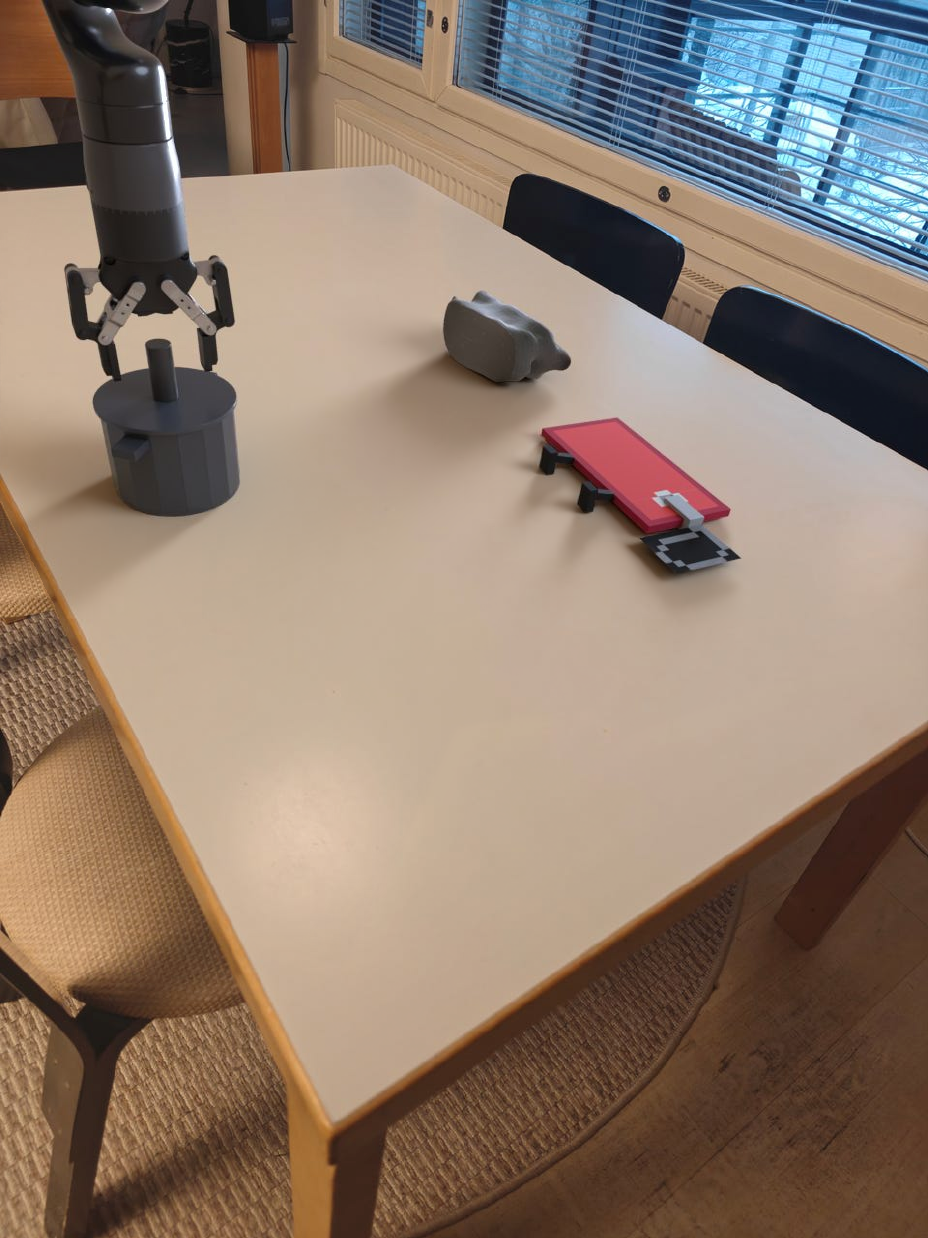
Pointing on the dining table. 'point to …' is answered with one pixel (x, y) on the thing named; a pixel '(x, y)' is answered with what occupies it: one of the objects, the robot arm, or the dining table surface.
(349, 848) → the dining table surface
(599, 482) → the red board with handle
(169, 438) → the pot
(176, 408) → the pot lid
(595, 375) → the dining table surface
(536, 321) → the rock
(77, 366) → the dining table surface
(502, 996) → the dining table surface
